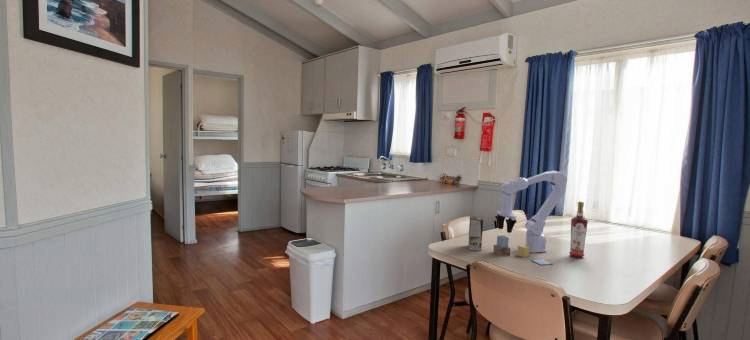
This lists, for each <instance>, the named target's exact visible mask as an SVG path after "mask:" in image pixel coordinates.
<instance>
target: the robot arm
mask: <svg viewBox="0 0 750 340" xmlns="http://www.w3.org/2000/svg"><path fill="white" fill-rule="evenodd" d="M508 181H509V182H503V183H502V184H501V186H500V189H499V190H500V191H501V195H500V197H501V198H500V210H496V211H495V213H496V214H495V216H494V217H495V219H496V223H497V227H498V230H503V229H504V226H505V225H504V224H506V233H509V234H510V233H512V231H513V229H514V226H515V225H516V223H517V222H518V221H517V216H516V215H514V214H513V201H514V200H513V198H514V197H513V195H514V193H515V192H519V191H522V190H525V189H527V188H528V187H529V186H530V185H533V184H536V183H537V184H538V183H540V182H543V181H545V182H548V183H549V184H550V185H551V190H552V191H551V192H550V193H549V195H548V196H547V198H546V199H545V200H544V202H543V204H542V205H541V207H540V208H539V210H538V211H537V212H536V214H535V215H532V216H531V218H530V219H528V220H527V221H526V222H525V224H524V225H525V226H524V227H525V229H526V234H525V245H526V246H529V247H530V251H529V253H531V254H532V253H535V254H536V253H547V250H546V245H547V243H546V242H547V241H546V240H547V238H546V236H545V235H544V234H543V231H544V227H545V226H546V220H547V218H548V217H549V216H550V214H551V213H552V211H553V210H554V208H555V207H556V206H557V204H559V201H560V200H561V198H562V197H563V196H564V194H565V192H566V184H567V181H568V180H567V176H566V173H564V172H562V171H556V170H554V169H553V170H550V171H545V172H542V173H539V174H536V175H533V176H530V177H528V178H525V177H521V176H520V177H517V179H515V180H508Z"/></svg>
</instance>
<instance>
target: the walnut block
mask: <svg viewBox="0 0 750 340" xmlns="http://www.w3.org/2000/svg"><path fill="white" fill-rule="evenodd" d="M493 253H495V254H496V255H497V256H511V247H509V246H508V247H504V248H501V247H499V246H497V244H493Z"/></svg>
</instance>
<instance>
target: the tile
mask: <svg viewBox="0 0 750 340" xmlns="http://www.w3.org/2000/svg"><path fill="white" fill-rule="evenodd" d="M530 261H531V262H533V263H534V264H537V265H539V266H551V265H553V264H554V263H551V262H549V261H547V260H545V259H543V258H542V259H531V260H530Z"/></svg>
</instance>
